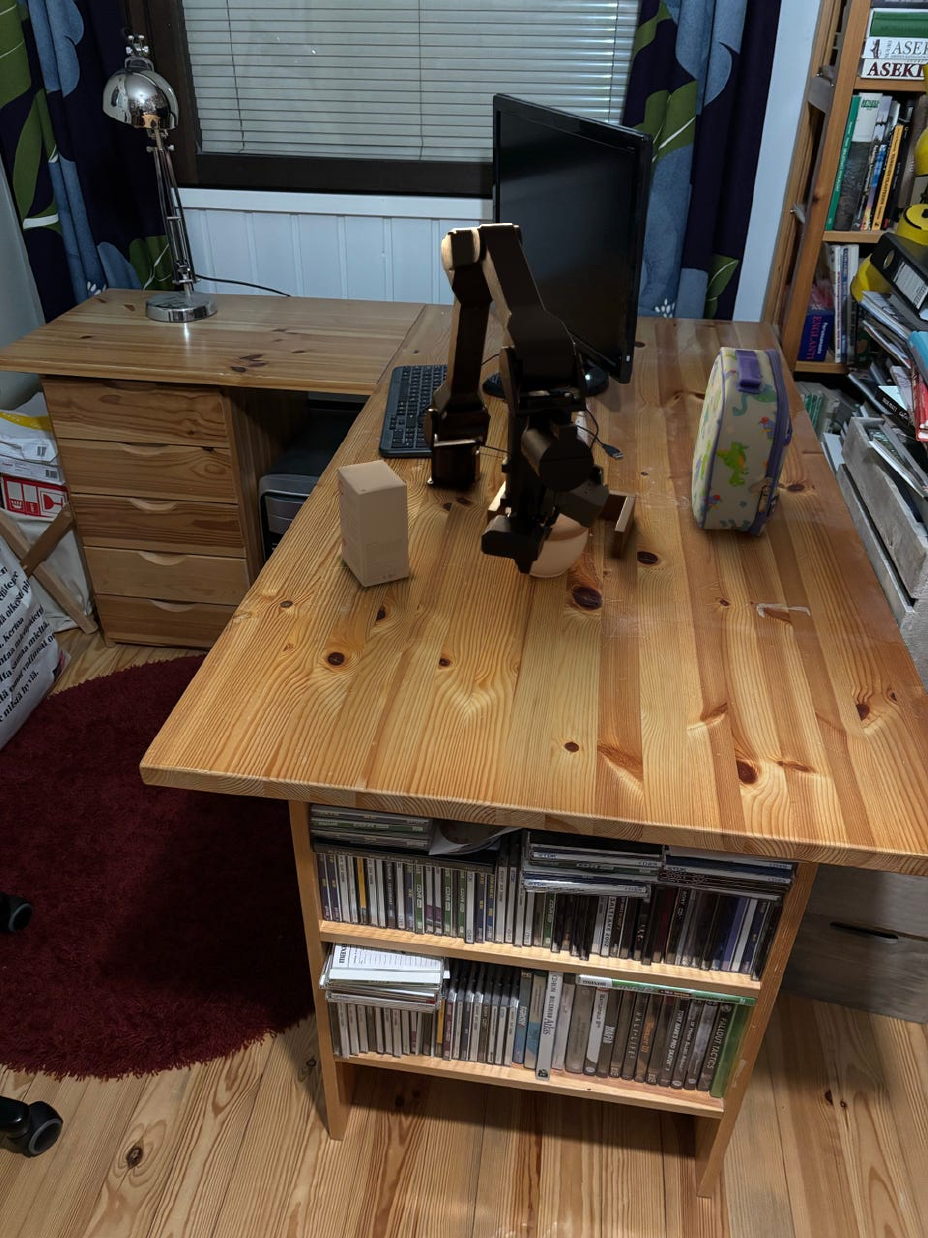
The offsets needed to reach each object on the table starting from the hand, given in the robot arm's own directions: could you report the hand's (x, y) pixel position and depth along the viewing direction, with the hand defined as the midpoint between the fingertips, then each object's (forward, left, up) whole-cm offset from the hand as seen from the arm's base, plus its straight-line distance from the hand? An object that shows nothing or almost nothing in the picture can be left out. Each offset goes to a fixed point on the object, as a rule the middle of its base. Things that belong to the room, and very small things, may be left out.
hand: (525, 572), depth 110 cm
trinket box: (0, +11, -6) cm, 12 cm away
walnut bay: (0, +21, -5) cm, 22 cm away
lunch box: (+22, +36, -6) cm, 43 cm away
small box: (-20, +3, -6) cm, 22 cm away
